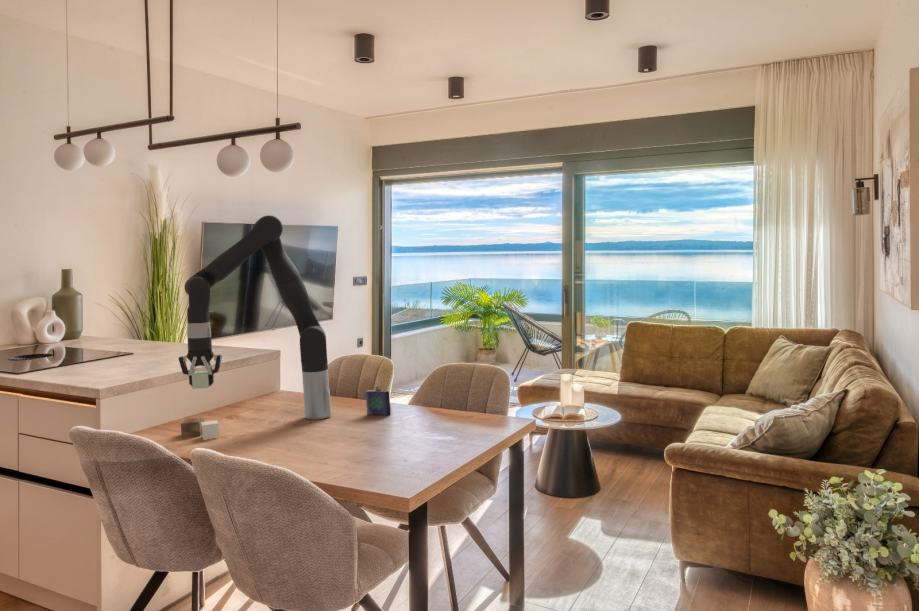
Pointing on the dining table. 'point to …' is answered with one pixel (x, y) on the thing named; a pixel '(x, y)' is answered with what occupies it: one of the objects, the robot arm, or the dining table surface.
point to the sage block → (200, 380)
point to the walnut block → (191, 427)
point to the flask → (378, 402)
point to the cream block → (210, 430)
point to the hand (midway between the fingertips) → (201, 385)
